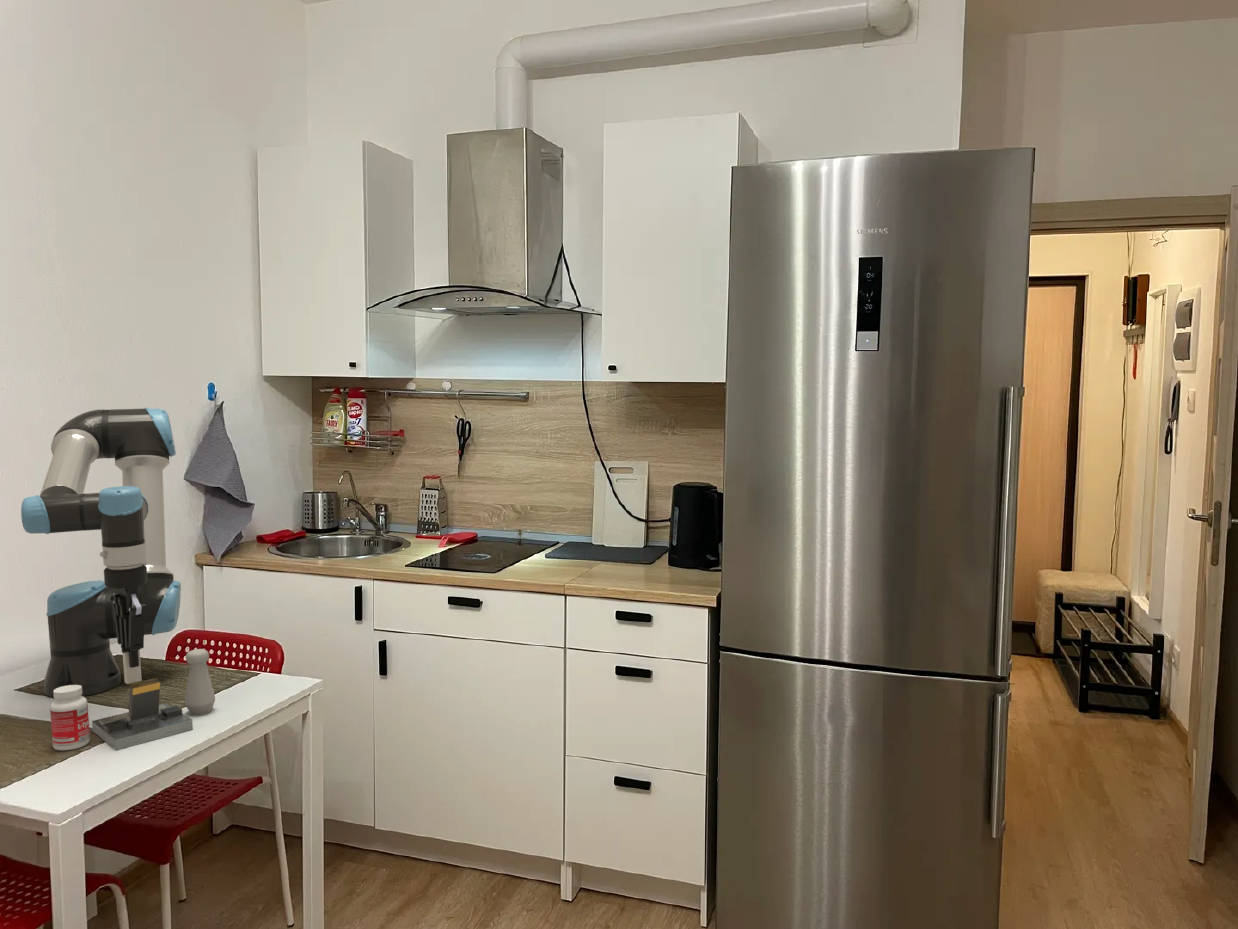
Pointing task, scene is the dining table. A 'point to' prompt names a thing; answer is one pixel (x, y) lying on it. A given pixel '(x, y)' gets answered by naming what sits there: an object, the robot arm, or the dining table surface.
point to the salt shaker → (199, 683)
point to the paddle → (144, 700)
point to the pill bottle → (69, 718)
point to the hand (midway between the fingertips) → (133, 681)
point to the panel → (141, 727)
